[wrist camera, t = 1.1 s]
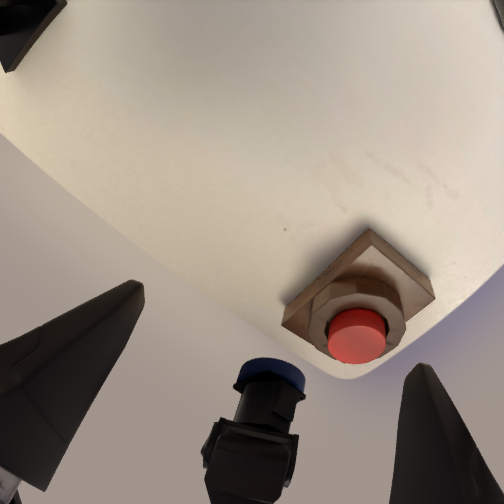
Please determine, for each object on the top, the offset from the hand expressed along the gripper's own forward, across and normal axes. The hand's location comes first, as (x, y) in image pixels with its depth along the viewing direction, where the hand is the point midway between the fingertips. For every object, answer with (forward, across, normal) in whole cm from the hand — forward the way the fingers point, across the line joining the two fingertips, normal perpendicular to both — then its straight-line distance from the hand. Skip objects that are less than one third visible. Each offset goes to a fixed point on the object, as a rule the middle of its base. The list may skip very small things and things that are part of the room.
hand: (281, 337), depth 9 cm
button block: (+14, -6, +8) cm, 17 cm away
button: (+10, -6, +8) cm, 14 cm away
